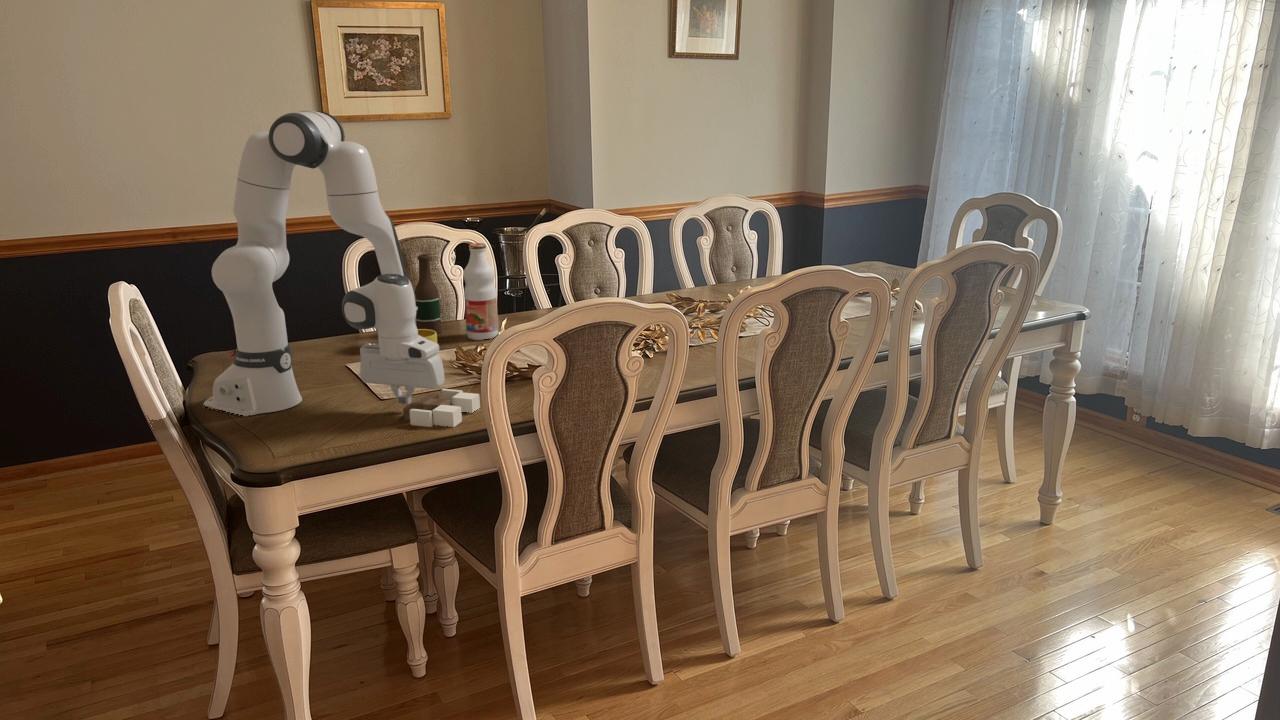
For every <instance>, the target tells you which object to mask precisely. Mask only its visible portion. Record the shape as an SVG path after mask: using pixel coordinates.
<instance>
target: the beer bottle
mask: <svg viewBox="0 0 1280 720" xmlns="http://www.w3.org/2000/svg"><path fill="white" fill-rule="evenodd" d="M430 257H431V256H430V255H429V254H418V255H417V260H418V281H417V284H416V285H415V289H414V292H415V296H416V306H417V307H418V309H417V311H416V318H415V323H416V327H417V329H428V330H433V331H436V333H437V335H440V334H441V333H442V320H441V319H442V318H441V310H440V307H441V305H440V296H439V289H438V286H437V285H436V284H435V282H434V281H433V278H432V272H431V266H430Z"/></svg>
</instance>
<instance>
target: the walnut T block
mask: <svg viewBox="0 0 1280 720" xmlns="http://www.w3.org/2000/svg"><path fill="white" fill-rule="evenodd" d="M440 405H450V406H452V405H451V400H443V399H442V398H441V399H440V394H439V393H431V392H430V393H429V392H426V393H425V394H423V395H422V396H420V397H419V398H417V399H416V400H413V401H412V402H411V403H410V404H406V406H404V407H403V408H402V410H403V411H402V413H403V420H404V422H405V421H406V422H410V410H411V409H420V410H430V411H432V418H433V410H434V409H435V408H437V407H438V406H440Z"/></svg>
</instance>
